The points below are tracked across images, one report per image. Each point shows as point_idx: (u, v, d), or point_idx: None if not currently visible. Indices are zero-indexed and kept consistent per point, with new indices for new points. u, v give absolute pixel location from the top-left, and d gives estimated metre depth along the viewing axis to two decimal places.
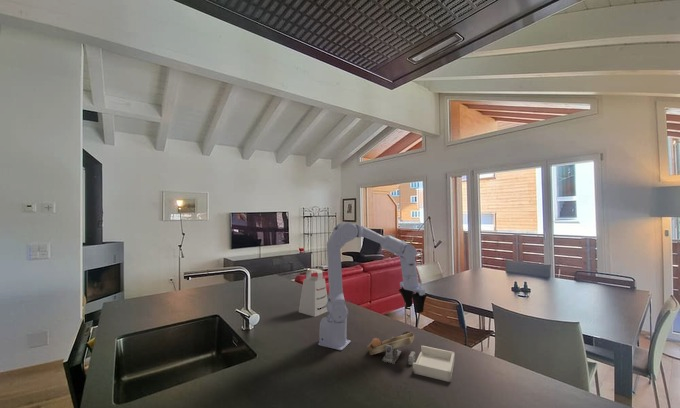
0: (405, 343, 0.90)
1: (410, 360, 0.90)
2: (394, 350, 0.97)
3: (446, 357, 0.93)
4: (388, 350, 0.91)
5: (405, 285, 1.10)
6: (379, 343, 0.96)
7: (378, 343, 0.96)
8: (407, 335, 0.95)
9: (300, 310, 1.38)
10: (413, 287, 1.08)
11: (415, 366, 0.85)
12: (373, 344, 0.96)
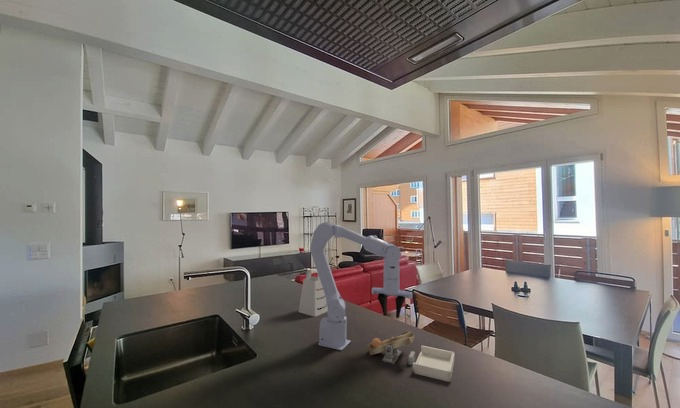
0: (405, 343, 0.90)
1: (410, 360, 0.90)
2: (394, 350, 0.97)
3: (446, 357, 0.93)
4: (388, 350, 0.91)
5: (390, 290, 1.01)
6: (379, 343, 0.96)
7: (378, 343, 0.96)
8: (407, 335, 0.95)
9: (300, 310, 1.38)
10: (398, 291, 1.02)
11: (415, 366, 0.85)
12: (373, 344, 0.96)
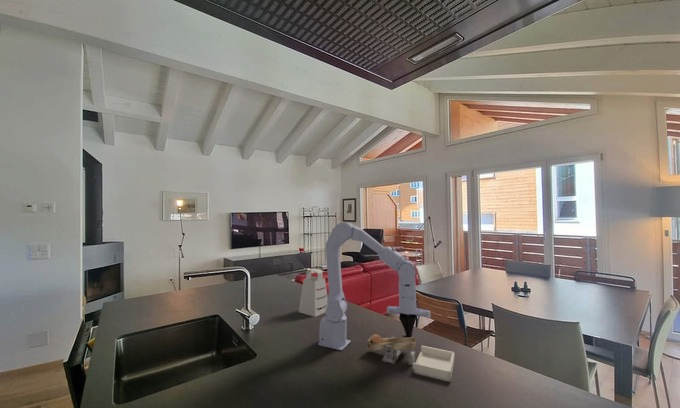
0: (406, 347, 0.90)
1: (410, 360, 0.90)
2: (394, 350, 0.97)
3: (446, 357, 0.93)
4: (388, 350, 0.91)
5: (407, 309, 0.96)
6: (379, 341, 0.96)
7: (378, 341, 0.96)
8: (409, 339, 0.94)
9: (300, 310, 1.38)
10: (415, 310, 0.97)
11: (415, 366, 0.85)
12: (373, 340, 0.96)
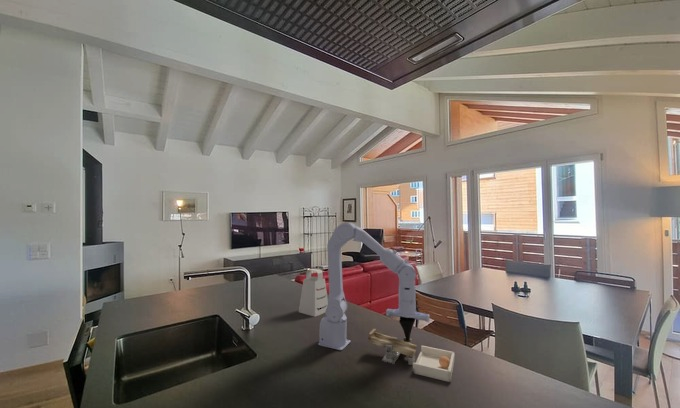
0: (407, 354, 0.90)
1: (410, 360, 0.90)
2: None
3: None
4: (388, 350, 0.91)
5: (406, 312, 0.96)
6: (445, 367, 0.87)
7: (445, 367, 0.86)
8: (410, 345, 0.94)
9: (300, 310, 1.38)
10: (415, 313, 0.97)
11: (415, 366, 0.85)
12: (444, 362, 0.86)
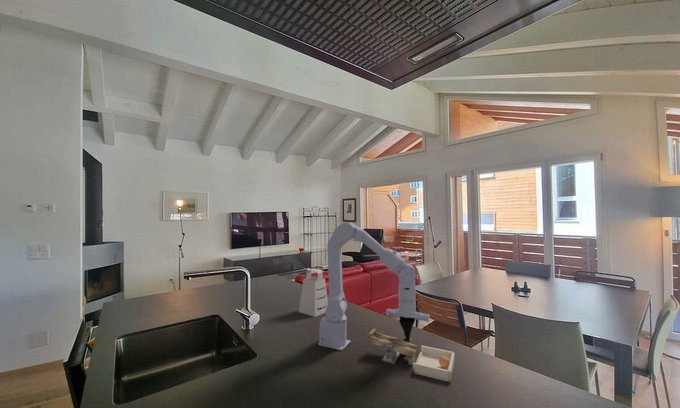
0: (407, 354, 0.90)
1: (410, 360, 0.90)
2: None
3: None
4: (388, 350, 0.91)
5: (406, 312, 0.96)
6: (445, 367, 0.87)
7: (445, 367, 0.86)
8: (410, 345, 0.94)
9: (300, 310, 1.38)
10: (415, 313, 0.97)
11: (415, 366, 0.85)
12: (444, 362, 0.86)
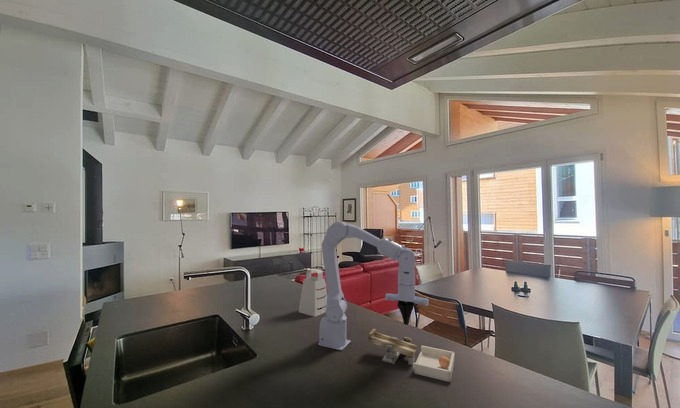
0: (407, 354, 0.90)
1: (410, 360, 0.90)
2: None
3: None
4: (388, 350, 0.91)
5: (405, 296, 0.97)
6: (445, 367, 0.87)
7: (445, 367, 0.86)
8: (410, 345, 0.94)
9: (300, 310, 1.38)
10: (414, 298, 0.97)
11: (415, 366, 0.85)
12: (443, 362, 0.86)
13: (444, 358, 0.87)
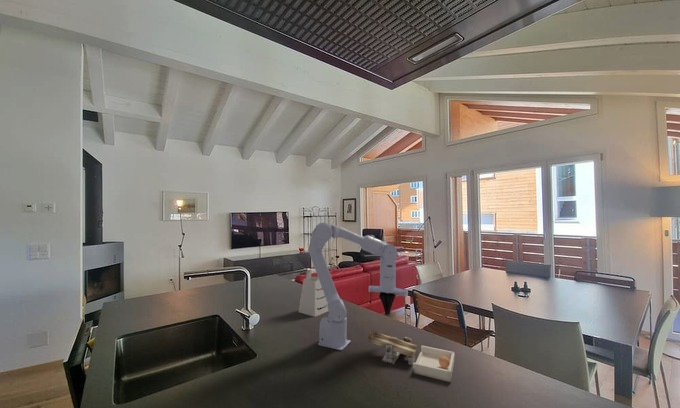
0: (407, 354, 0.90)
1: (410, 360, 0.90)
2: None
3: None
4: (388, 350, 0.91)
5: (386, 288, 1.04)
6: (445, 367, 0.87)
7: (445, 367, 0.86)
8: (410, 345, 0.94)
9: (300, 310, 1.38)
10: (394, 289, 1.04)
11: (415, 366, 0.85)
12: (443, 362, 0.86)
13: (444, 358, 0.87)
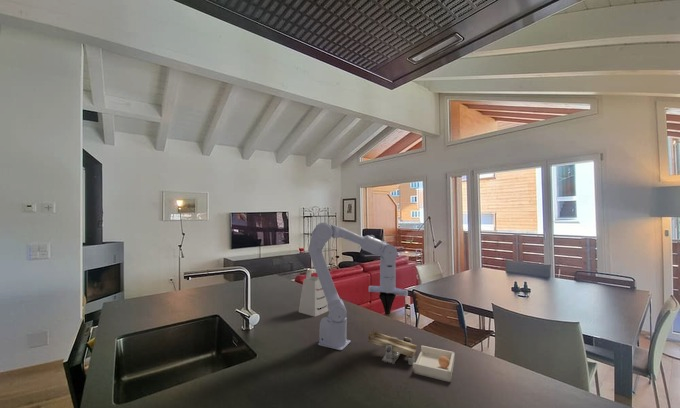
0: (407, 354, 0.90)
1: (410, 360, 0.90)
2: None
3: None
4: (388, 350, 0.91)
5: (386, 288, 1.04)
6: (445, 367, 0.87)
7: (445, 367, 0.86)
8: (410, 345, 0.94)
9: (300, 310, 1.38)
10: (394, 289, 1.04)
11: (415, 366, 0.85)
12: (443, 362, 0.86)
13: (443, 358, 0.87)
